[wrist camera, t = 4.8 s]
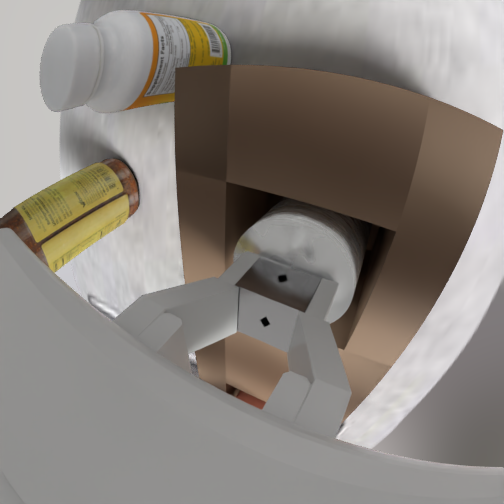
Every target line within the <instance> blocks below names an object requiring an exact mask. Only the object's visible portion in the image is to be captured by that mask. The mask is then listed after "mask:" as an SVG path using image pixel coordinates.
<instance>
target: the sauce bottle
mask: <svg viewBox="0 0 504 504" xmlns="http://www.w3.org/2000/svg"><path fill="white" fill-rule="evenodd" d="M138 206H139V195H138V187H137V183H136V180H135V178H134V175H133V174H132V173H131V171H130V169H129V168H128V167H127V165H125V164H124V163H123V162H121V161H120V160H119V159H114V158H113V159H106V160H104V161H102V162H100V163H95V164H92V165H90V166H88V167H86V168H84V169H82V170H80V171H78V172H76V173H74V174H72V175H70V176H68V177H66V178H64V179H62V180H60V181H58V182H56V183H55V184H53V185H51V186H49V187H47V188H45V189H44V190H42V191H40V192H38V193H37V194H35V195H33V196H32V197H30V198H28V199H26V200H25V201H24V202H22V203H20V204H19V205H17V206H16V207H14V208H13V209H12V210H11V211H10V212H8V213H7V214H6V215H4V216H3V217H2V218H0V229H1V228H10V229H12V230H13V231H14V232H15V234H16V235H17V236H18V237H19V238H20V239H21V240H22V241H23V242H24V243H25V244H26V245H27V247H28V248H29V249H30V250H31V251H32V252H33V253H34V254H35V255H36V256H37V257H38V258H39V259H40V260H41V261H42V262H43V263H44V264H45V265H47V266H48V267H49V268H50V269H51V270H52V271H53V272H54V273H55V272H56V271H57V270H59V269H60V268H61V267H62V266H64V265H65V264H66V263H68V262H69V261H70V260H72V259H73V258H74V257H76V256H77V255H78V254H80V253H81V252H82V251H84V250H85V249H87V248H88V247H89V246H91V245H92V244H94V243H95V242H97V241H98V240H99V239H101V238H102V237H104V236H105V235H107V234H108V233H110V232H111V231H113V230H114V229H116V228H117V227H119V226H120V225H122V224H124V223H125V221H126V220H127V219H128V218H129V217H131V216H132V215H133V214H134V213H135V211H136V210H137V209H138Z"/></svg>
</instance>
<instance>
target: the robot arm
mask: <svg viewBox="0 0 504 504" xmlns="http://www.w3.org/2000/svg"><path fill="white" fill-rule="evenodd" d="M338 286H339V284H338V283H337V282H334V281H330V280H327V279H324V278H320V277H317V276H314V275H311V274H308V273H305V272H303V271H300V270H297V269H294V268H292V267H289V266H287V265H284V264H281V263H279V262H276V261H273V260H271V259H268V258H266V257H263V256H260V255H257V254H255V253H252V252H249V251H246V252H244V253H243V254H242V255H241V256H240V257H239V258H238V259H237V260H236V261H235V262H234V263H233V264H232V265H231V266H230V267H229V268H228V269H227V270H226V271H225V272H224V273H223V274H222V275H221V276H220V277H219V278H216V277H211V278H207V279H203V280H199V281H196V282H192V283H188V284H184V285H180V286H176V287H172V288H169V289H165V290H161V291H157V292H153V293H149V294H145V295H142V296H141V297H139V298H138V299H137V300H136V301H135V302H134V303H132V304H131V305H130V306H129V307H128V308H127V309H125V310H124V311H123V312H122V313H121V314H120V315H118V316H117V317H116V318H115V319H114V320H113V321H111V320H110V319H109V318H107V317H106V316H105V315H103V314H102V313H101V312H100V311H98V310H97V309H96V308H95V307H93V306H92V305H91V304H90V303H88V302H87V301H86V300H85V299H84V298H82V297H81V296H80V295H79V294H78V293H76V292H75V291H74V290H73V289H72V288H70V287H69V286H68V285H67V284H66V283H65V282H64V281H63V280H62V279H60V278H59V277H58V276H57V275H56V274H55V273H54V272H53V271H52V270H51V269H50V268H49V267H48V266H47V265H45V264H44V263H43V262H42V261H41V260H40V259H39V258H38V257H37V256H36V255H35V254H34V253H33V252H32V251H31V250H30V249H29V248H28V247H27V245H26V244H25V243H24V242H23V241H22V240H21V239H20V238H19V237H18V236H17V235H16V234H15V232H14V231H13V230H12V229H10V228H1V229H0V504H504V467H475V466H461V465H452V464H443V463H436V462H429V461H423V460H417V459H411V458H407V457H402V456H397V455H392V454H388V453H384V452H380V451H376V450H372V449H368V448H365V447H361V446H358V445H354V444H351V443H347V442H344V441H341V440H338V439H335V438H336V435H337V433H338V430H339V427H340V425H341V422H342V419H343V417H344V414H345V411H346V408H347V405H348V403H349V400H350V397H351V394H352V392H351V389H350V386H349V382H348V379H347V376H346V373H345V369H344V366H343V363H342V360H341V357H340V354H339V351H338V348H337V345H336V342H335V339H334V336H333V333H332V330H331V327H330V324H329V322H326V319H327V316H328V314H329V311H330V308H331V306H332V303H333V300H334V297H335V294H336V291H337V289H338ZM237 331H238V332H241V333H243V334H246V335H248V336H250V337H253V338H255V339H258V340H260V341H262V342H265V343H267V344H269V345H271V346H273V347H275V348H278V349H280V350H282V351H284V352H287V359H288V367H289V372H286V373H283V375H282V377H281V378H280V380H279V382H278V384H277V385H276V387H275V389H274V390H273V392H272V394H271V396H270V397H269V399H268V401H267V402H266V404H265V405H264V407H263V409H262V410H261V409H259V408H257V407H254V406H252V405H250V404H248V403H246V402H244V401H242V400H240V399H238V398H236V397H234V396H232V395H230V394H228V393H226V392H224V391H222V390H220V389H218V388H216V387H215V386H213V385H211V384H209V383H207V382H205V381H204V380H202V379H200V378H198V377H196V376H195V375H193V374H191V373H192V371H191V366H190V361H189V356H188V354H190V353H192V352H195V351H197V350H199V349H201V348H204V347H206V346H208V345H210V344H213V343H215V342H217V341H219V340H221V339H224V338H226V337H228V336H230V335H232V334H234V333H236V332H237Z"/></svg>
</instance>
